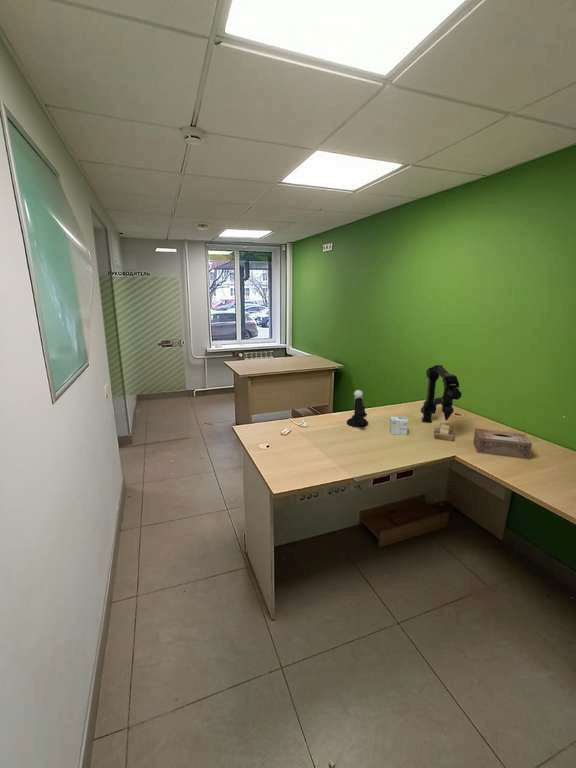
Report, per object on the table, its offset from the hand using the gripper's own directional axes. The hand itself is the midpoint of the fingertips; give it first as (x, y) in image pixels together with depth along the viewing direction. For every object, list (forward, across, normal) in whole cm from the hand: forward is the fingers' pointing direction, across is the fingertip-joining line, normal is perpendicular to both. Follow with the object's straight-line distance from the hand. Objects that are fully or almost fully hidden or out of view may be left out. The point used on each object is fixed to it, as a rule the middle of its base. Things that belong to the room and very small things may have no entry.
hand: (445, 417), depth 215 cm
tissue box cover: (+13, +11, +30) cm, 35 cm away
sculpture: (+13, +1, -55) cm, 57 cm away
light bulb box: (+13, +5, -28) cm, 31 cm away
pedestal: (+13, +1, 0) cm, 13 cm away
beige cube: (+10, +1, 0) cm, 10 cm away
